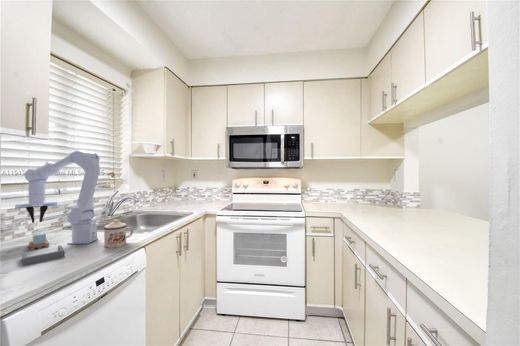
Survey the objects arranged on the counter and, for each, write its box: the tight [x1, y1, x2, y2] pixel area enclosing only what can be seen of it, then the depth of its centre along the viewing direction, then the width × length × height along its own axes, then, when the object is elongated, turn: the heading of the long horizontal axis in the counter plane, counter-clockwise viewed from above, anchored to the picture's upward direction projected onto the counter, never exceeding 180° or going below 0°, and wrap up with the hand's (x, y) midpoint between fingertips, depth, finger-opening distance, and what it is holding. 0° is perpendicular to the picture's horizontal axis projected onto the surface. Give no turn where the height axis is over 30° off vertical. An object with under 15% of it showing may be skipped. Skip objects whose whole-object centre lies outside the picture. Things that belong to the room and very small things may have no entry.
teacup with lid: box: [103, 219, 134, 248], centre depth 108 cm, size 12×9×12 cm
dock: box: [21, 244, 66, 266], centre depth 91 cm, size 9×12×2 cm
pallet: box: [28, 238, 50, 251], centre depth 104 cm, size 9×6×2 cm, turn 48°
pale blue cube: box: [32, 232, 47, 245], centre depth 103 cm, size 4×4×4 cm
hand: (37, 222), depth 111 cm, fingers closed
